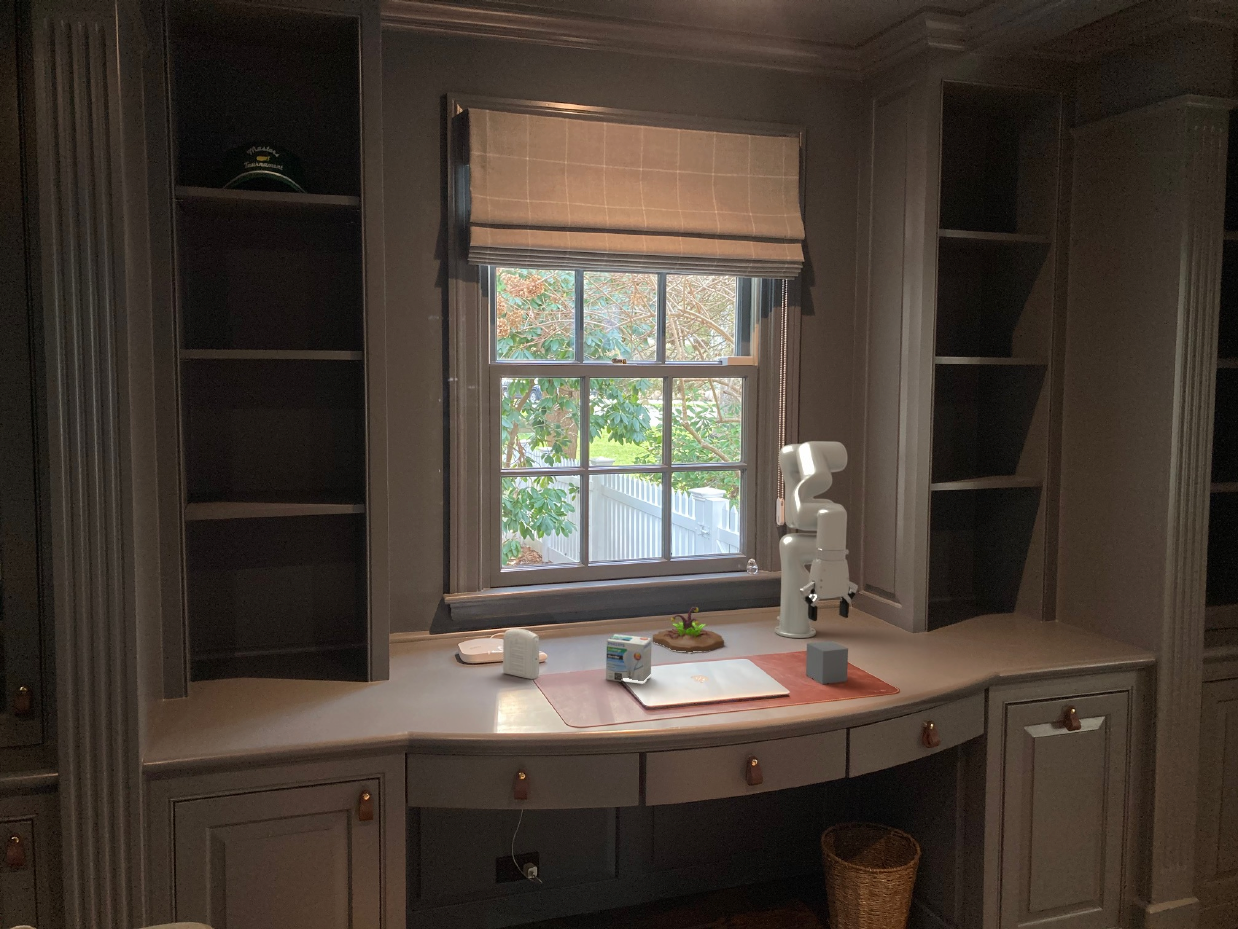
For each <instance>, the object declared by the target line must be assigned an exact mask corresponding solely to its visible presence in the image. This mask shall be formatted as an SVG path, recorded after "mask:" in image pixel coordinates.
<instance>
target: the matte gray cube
mask: <svg viewBox="0 0 1238 929" xmlns="http://www.w3.org/2000/svg"><path fill="white" fill-rule="evenodd" d="M848 658H849V648H848V647H845V646H843V645H841V644H839V643H838V642H836V641H833V640H827V641H817V642H809V643H808V642H807V643H806V661H805V662H806V663H805V664H806V665H805V668H806V669H805V676H806V675H808V676H807V677H809V678H810V677H811V678H810V679H812V678H813V679H814V681H815V680H816V681H815V682H817V683H818V684H821V685H828V684H827V683H829V684H835V683H836V684H837V683H842V682H843V683H844V682H848V667H849V666H848V663H849V662H848V660H849V659H848ZM813 679H812V680H813Z"/></svg>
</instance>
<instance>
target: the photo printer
mask: <svg viewBox="0 0 1238 929" xmlns="http://www.w3.org/2000/svg"><path fill="white" fill-rule="evenodd" d="M502 648H503V649H502V652H503V653H502V654H503V655H502V658H503V659H502V671H503V673H504V674H506V675H511V676H516V677H520V678H525V679H528V680H529V679H530V680H534V679H537V678H538V677H539V674H540V638H539V635H538V634H536V633H534V632H532V631H531V630H528V629H522V628H511V629H508V630H507V629H506V631H505V632H504V634H503V647H502Z"/></svg>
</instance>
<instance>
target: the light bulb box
mask: <svg viewBox="0 0 1238 929" xmlns="http://www.w3.org/2000/svg"><path fill="white" fill-rule="evenodd" d="M652 643H653V638H651V637H642V636H636V635H635V636H634V635H633V636H632V635H625V634H617V633H614V634H613V635H612V636H611V637H610V638H608V639H607V640H606V656H605V657H606V659H605V660H606V661H605V662H606V664H605V680H607V681H613V682H620V683H622V682H621V679H623V678H629V679H632V680H638V681H644V680H645V679H646V678H647V677H648V676H649V675H650V674H651V675H652V646H653V644H652Z"/></svg>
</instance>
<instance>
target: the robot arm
mask: <svg viewBox="0 0 1238 929" xmlns="http://www.w3.org/2000/svg"><path fill="white" fill-rule="evenodd" d="M778 456H779V458H778V460H779V462H778V464H779V467H780V471H781V474H782V478H783V481H784V486H785V487H784V488H785V489H784V521H785V524H786V526H787V527H789V528H790V529H795V530H796V529H797V530H801V531H804V532H805V531H807V533H806V532H805V533H803V532H794V533H793V532H792V533H787V534H785V535H783V536H782V537H781V538H780V540H779V544H778V545H779V558H780V566H781V569H780V572H781V576H780V578H781V580H780V583H781V585H780V608H779V609H780V612H779V613H780V614H779V615H778V616H777V617H776V620H777V621H779V624H778V625H777V626H775V627H774V632H775V634H777V635H778V636H782V637H787V638H790V639H791V638H793V639H806V638H812V637H814V636H815V635H816V634H817V633H816V629H815V628H813V627H812V624H811V623H812V621H813V622H816V621H818V606H817V604H818V602H819V601H820V600H823V599H824V600H825V599H834V598H840V599H841V600H840V601H839V606H838V607H839V608H838V609H839V612H838V614H839V616H840V617H842V618H845V619H848V618H849V612H850V608H849V607H850V604H851V602H852V600H853V599H854V598H855V596H856V593H857V591H858V589H859V585H857V584H856V583H855V582H852V581H850V574H849V565H848V560H847V559H846V555H849V552H850V550H849V549H848V548H847V549H846V545H847V526H848V525H847V521H848V513H847V510H846V509H845V507H844V506H843V504H840V503H835V502H833V500H831V499H828V498H827V499H826V498H814V497H815V496H819V495H821V494H823V493H825V492H826V491H828V490H829V489H830V487H831V486H832V484H833V477H832V476H833V475H832V473H836V472H841V471H843V470H845V468H846V467H847V464H848V452H847V449H846V447H845V446H844V444H843V443H841V442H839V441H825V440H823V441H819V440H818V441H815V440H814V441H813V440H812V441H811V440H810V441H805V442H803V443H791V444H788V445H787V444H786V445H784V446H783V447H781V448H780V451H779V455H778ZM808 531H812V532H813V531H814V532H815V531H816V533H809V532H808ZM805 565H811V566H810V570H807V569H806V567H805Z"/></svg>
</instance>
